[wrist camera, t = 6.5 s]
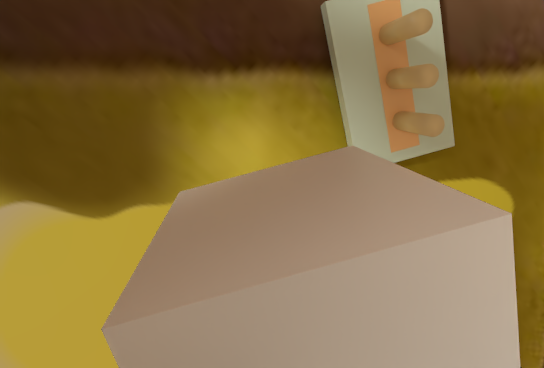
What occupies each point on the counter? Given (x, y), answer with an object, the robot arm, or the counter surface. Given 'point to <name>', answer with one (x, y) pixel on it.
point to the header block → (390, 75)
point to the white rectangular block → (323, 274)
